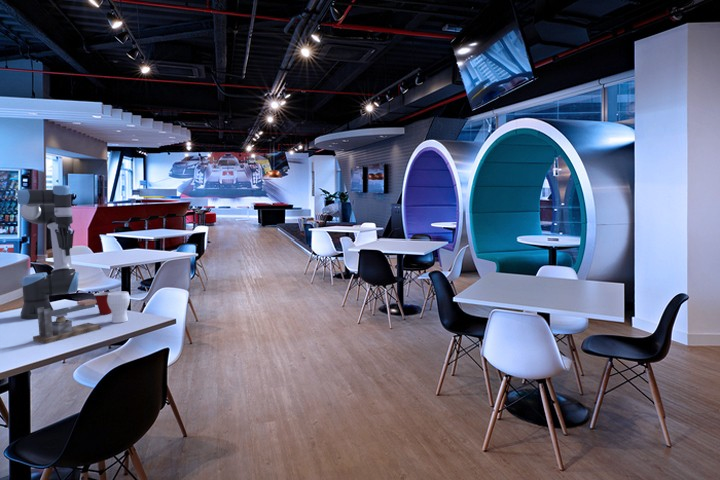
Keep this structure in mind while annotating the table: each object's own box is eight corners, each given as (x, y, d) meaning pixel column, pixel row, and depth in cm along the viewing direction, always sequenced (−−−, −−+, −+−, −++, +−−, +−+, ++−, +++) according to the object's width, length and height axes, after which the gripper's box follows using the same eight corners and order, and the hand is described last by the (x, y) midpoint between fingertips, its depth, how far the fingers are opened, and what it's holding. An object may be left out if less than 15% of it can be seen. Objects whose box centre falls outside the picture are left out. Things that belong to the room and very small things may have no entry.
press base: (45, 343, 212) (43, 311, 210) (33, 340, 216) (30, 308, 215) (100, 329, 235) (98, 299, 233) (88, 326, 239) (86, 297, 238)
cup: (104, 322, 247) (102, 294, 246) (122, 317, 257) (120, 290, 255) (117, 324, 242) (115, 296, 241) (135, 319, 252) (133, 292, 250)
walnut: (54, 324, 222) (53, 316, 221) (62, 322, 225) (62, 314, 225) (59, 325, 220) (58, 317, 219) (68, 323, 223) (67, 315, 223)
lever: (48, 320, 214) (48, 310, 214) (41, 318, 217) (40, 308, 217) (97, 309, 235) (96, 300, 234) (89, 308, 237) (89, 299, 237)
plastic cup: (111, 310, 273) (110, 289, 272) (119, 312, 266) (118, 292, 265) (91, 313, 265) (90, 292, 264) (99, 316, 258) (98, 295, 257)
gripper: (48, 216, 239) (51, 262, 241) (63, 216, 233) (66, 263, 235) (63, 215, 245) (66, 260, 248) (78, 215, 239) (81, 261, 242)
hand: (66, 262), depth 241 cm, fingers closed
